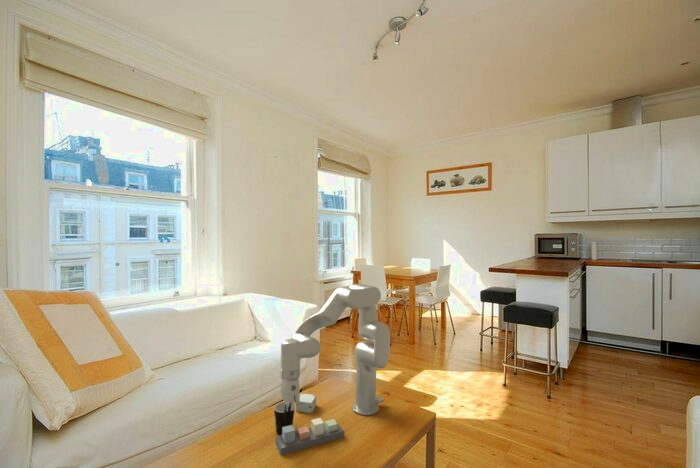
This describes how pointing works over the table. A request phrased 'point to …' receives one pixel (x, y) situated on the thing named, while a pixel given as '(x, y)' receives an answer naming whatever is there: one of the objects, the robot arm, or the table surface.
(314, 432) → the key cream
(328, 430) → the key sage
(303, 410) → the small box
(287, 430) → the key slate
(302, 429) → the key terracotta
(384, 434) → the table surface
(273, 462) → the table surface
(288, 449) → the keypad
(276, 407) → the coffee mug
